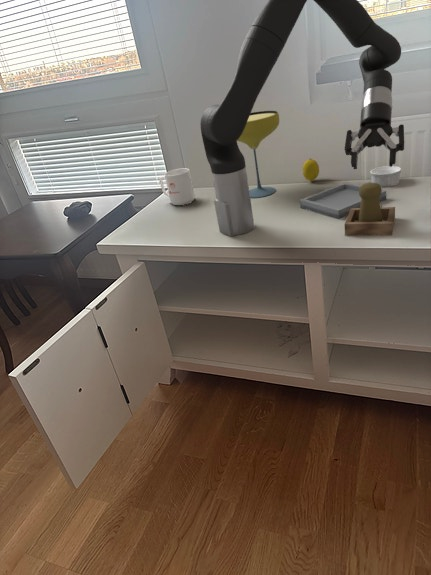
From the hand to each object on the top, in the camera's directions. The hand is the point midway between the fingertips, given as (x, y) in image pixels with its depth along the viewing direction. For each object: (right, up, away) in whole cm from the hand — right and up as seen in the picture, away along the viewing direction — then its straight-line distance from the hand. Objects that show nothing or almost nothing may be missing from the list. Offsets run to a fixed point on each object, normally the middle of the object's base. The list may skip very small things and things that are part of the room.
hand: (372, 166), depth 109 cm
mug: (-53, 0, +47) cm, 71 cm away
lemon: (-6, +6, +41) cm, 42 cm away
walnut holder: (-1, -15, 0) cm, 15 cm away
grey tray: (-3, -6, +17) cm, 18 cm away
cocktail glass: (-24, +2, +40) cm, 47 cm away
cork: (-1, -15, 0) cm, 15 cm away
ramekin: (+13, +2, +26) cm, 29 cm away
